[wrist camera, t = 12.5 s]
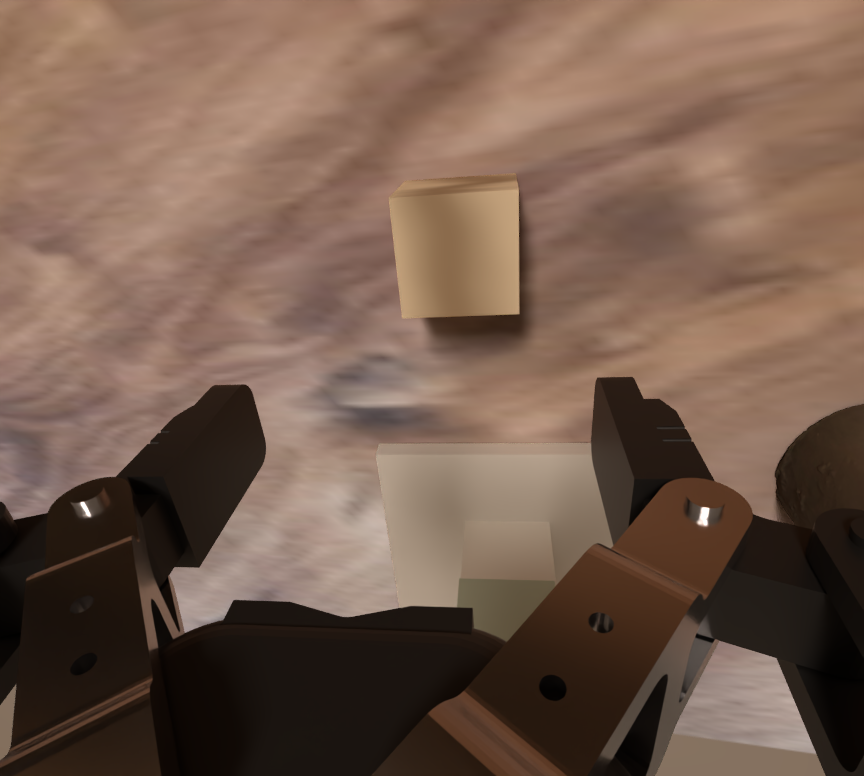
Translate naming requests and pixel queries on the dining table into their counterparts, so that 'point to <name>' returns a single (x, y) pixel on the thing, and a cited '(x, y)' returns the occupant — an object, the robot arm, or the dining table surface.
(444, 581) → the baseplate
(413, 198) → the maple block
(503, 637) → the sage block
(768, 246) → the dining table surface
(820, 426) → the pillar candle
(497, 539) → the beige block
